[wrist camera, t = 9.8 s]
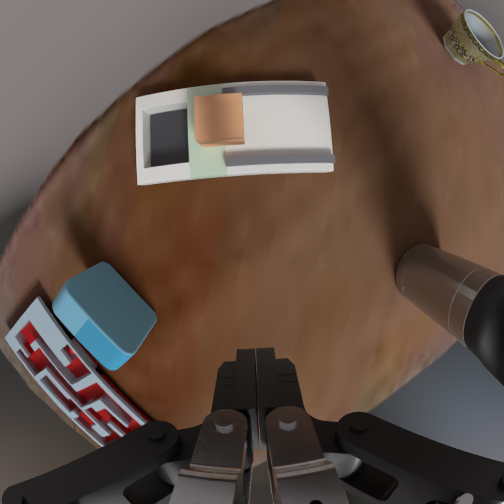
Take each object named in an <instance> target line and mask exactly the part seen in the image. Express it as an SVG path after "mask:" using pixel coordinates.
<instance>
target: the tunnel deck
mask: <svg viewBox="0 0 504 504" xmlns="http://www.w3.org/2000/svg"><path fill="white" fill-rule="evenodd" d="M229 93H242V103H243V121H244V142H245V144H242V145H226V146H214V147H202V146H201V145H200V144H199V143H198V142H196V141H195V116H194V97H198V96H206V95H217V94H229ZM328 94H329V90H328V86H326V85H325V82H314V81H254V82H237V83H224V84H214V85H205V86H197V87H190V88H184V89H177V90H171V91H166V92H160V93H155V94H151V95H146V96H141V97H137V98H136V162H137V181H138V185H150V184H158V183H166V182H175V181H183V180H193V179H203V178H214V177H227V176H241V175H257V174H279V173H326V172H332V171H334V168H333V163H336V161H335V154H333V153H332V140H331V129H330V118H329V109H328V100H327V95H328Z"/></svg>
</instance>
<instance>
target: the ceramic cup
mask: <svg viewBox="0 0 504 504" xmlns="http://www.w3.org/2000/svg"><path fill="white" fill-rule="evenodd" d="M443 43H444V48H445V49H446V50H447V52H448V53H449V54H450V56H451V57H452V59H454V60H455V61H457V62H459V63H460V64H462V65H465V64H470V63H476V62H477V63H480V64H483V65H484V66H486V67H487V68H489V69H491V70H493V71H494V72H495V73H497V74H498V75H500V76H504V74H500V73H499V72H497V71H496V70H495V69H493V68H492V67H490V66H488V65H486V64H485V63H484V61H493V62H497V63H498V64H499V65H500V66H502V68H503V69H504V63H503V62H502V61H501V60H499V59H501V58H503V56H504V49H503V46H502V43H501V40H500V38H499V36H498V35H497V33H496V32H495V30H494V29H493V27H492V26H491V25H490V24H489V23H488V22H487V20H486V19H485V18H484V17H482V16H481V15H480V14H479V13H477V12H475V11H473V10H471V9H467V10H465V11H464V12H463V13H462V14H461V15H460V16H459V18H458V19H457V20H456V22H455V23H454V25H453V26H452V27H451V28H450V29H449V30H448V32H447V33H446V34H445V35H444V36H443Z"/></svg>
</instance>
